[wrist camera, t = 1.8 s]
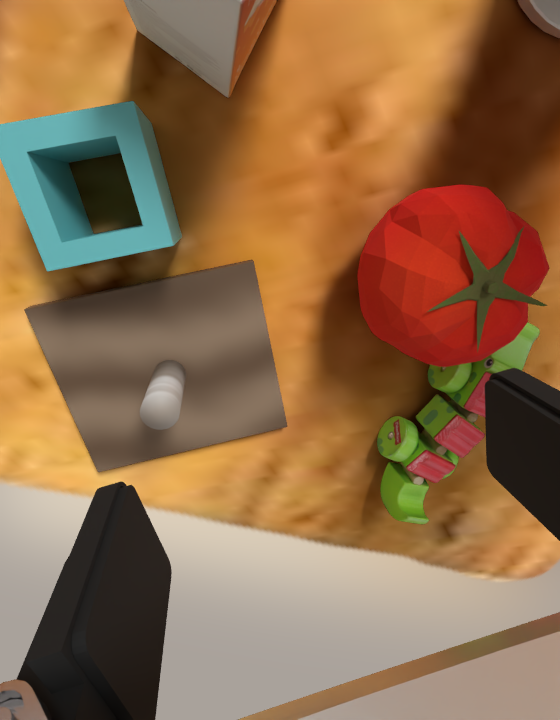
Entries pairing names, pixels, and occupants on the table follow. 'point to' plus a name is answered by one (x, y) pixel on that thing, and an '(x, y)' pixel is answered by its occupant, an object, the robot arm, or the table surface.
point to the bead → (59, 191)
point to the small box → (204, 33)
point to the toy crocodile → (441, 429)
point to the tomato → (450, 275)
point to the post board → (150, 334)
